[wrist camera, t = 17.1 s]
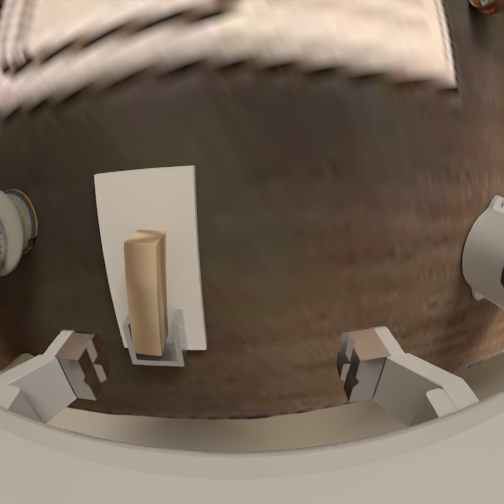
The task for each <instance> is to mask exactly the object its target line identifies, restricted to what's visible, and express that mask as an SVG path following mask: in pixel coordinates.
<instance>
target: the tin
mask: <svg viewBox="0 0 504 504" xmlns="http://www.w3.org/2000/svg"><path fill="white" fill-rule="evenodd" d="M469 2H470V4H471V5H472V6H474V7H475V8H476V9H477V10H478V11H479V12H480V13H481V14H483V15H492V14H495V13H499V12H501V11H502V10H503V9H504V0H469Z"/></svg>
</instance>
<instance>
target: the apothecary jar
mask: <svg viewBox="0 0 504 504" xmlns="http://www.w3.org/2000/svg"><path fill="white" fill-rule="evenodd" d="M37 229H38V225H37V217H36V213H35V210H34V207H33V205H32V203H31V201H30V200H29V198H28V197H27V196H26V195H25V194H24V193H22V192H21V191H19V190H16V189H9V190H6V191H4V192H2V191H1V190H0V277H2V276H6V275H8V274H10V273H11V272H12V271H13V270H14V269H15V268H16V267H17V265H18V263H19V261H20V259H21V256H22V254H25V253H27V252H28V251H30V250H31V248H32V247H33V239H34V238H35V237H36V236H37Z"/></svg>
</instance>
